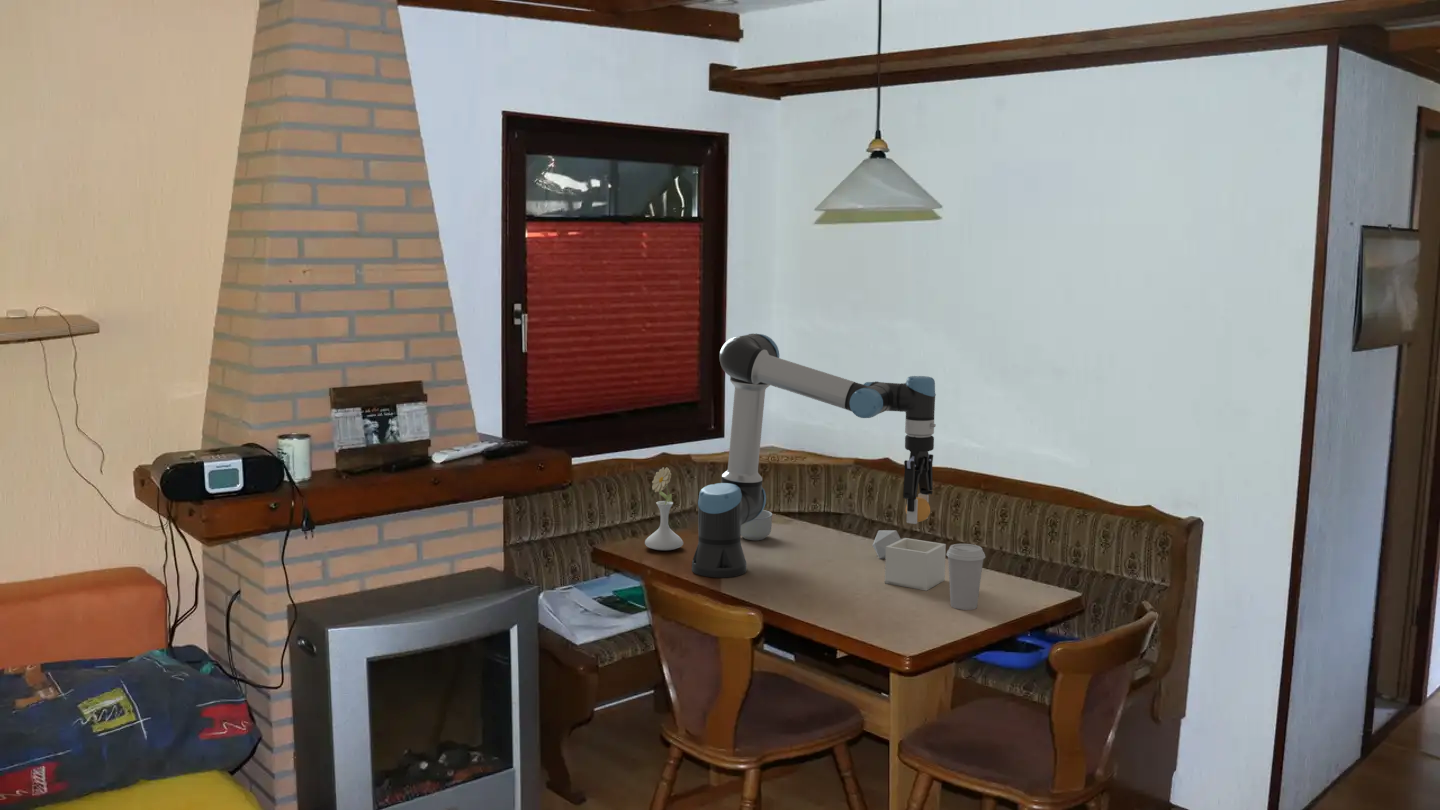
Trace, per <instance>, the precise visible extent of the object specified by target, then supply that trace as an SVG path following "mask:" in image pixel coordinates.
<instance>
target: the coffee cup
mask: <svg viewBox="0 0 1440 810" xmlns="http://www.w3.org/2000/svg"><path fill="white" fill-rule="evenodd" d="M946 556H947V560H948V576H949V577H948V579H949V596H950V597H949V600H950V606H951V608H954V609H956V610H963V611H971V610H975V609H977V608H978V603H979V594H980V587H981V579H982V571H983V564H984V559H985V558H986V554H985V552H984V550H983V547H981V546H980V545H976V544H972V543H955V544H951V545H950V546H949V548H948V549H947V551H946V554H945V557H946Z"/></svg>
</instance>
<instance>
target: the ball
mask: <svg viewBox="0 0 1440 810" xmlns="http://www.w3.org/2000/svg"><path fill="white" fill-rule="evenodd" d="M916 499H918V512H917V523H919V522H924V521H925V520H927V519H926V518H927V517H928V518H929V516H930V514H931V506H930V504H929V502H927V501H926V500H925V499H923V498H920V497H918V496H916ZM905 514H906V515H907V504H905Z"/></svg>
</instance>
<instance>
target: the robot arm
mask: <svg viewBox="0 0 1440 810" xmlns="http://www.w3.org/2000/svg"><path fill="white" fill-rule="evenodd" d="M719 362H720V366H721V369H722V370H723V371H724V373H725V374H726V375H727V376H729V379H730V380H729V381H730V382H731V383H732V385H733V387H734V393H733V394H734V395H733V403H732V404H733V407H732V415H731V417H732V418H731V426H730V427H731V430H730V441H729V450H728V452H729V453H728V463H727V469H726V471H723V473H722V474H721V482H717V483H714V484H713V483H712V484H708V485H705V486H704V487H703V488H701V489H700V491H699V493H698V494H699V495H698V500H697V507H698V512H697V513H698V515H697V517H698V523H697V524H698V530H697V531H698V536H697V537H698V540H697V541H698V542H697V546H696V549H695V551H694V555H693V558H692V561H691V572H692V573H694V574H696V575H698V576H702V577H708V578H731V577H732V578H733V577H737V576H742V575H743V574H746V572H747V571H748V569H747V567H748V566H747V565H748V563H747V560H746V557H745V553H744V550H743V547H742V542H741V525H742V524H744V523H746V522H749V521H752V520H754V519H755V518H756V517H757V516H758V515H759V514H760V513H761V512H762V511H763V510H765V506H766V503H767V495H766V494H767V493H766V491H765V488H763V476H761V474H760V473H759V463H760V452H761V443H762V442H761V440H762V439H761V438H762V431H763V430H762V428H763V420H764V419H763V418H764V407H765V396H766V390H767V389H768V388H769V387H770V386H772V387H775V388H778V389H781V390H785V391H787V392H790V393H794V394H795V395H796V394H797V395H799V396H803V397H805V398H810V399H812V400H816V401H819V402H822V403H825V404H827V405H832V406H833V407H838V408H841V409H844V410H846V411H849V412H852V413H853V415H855V416H856V417H858V418H860V419H870V418H874V417H875V416H877V415H879V414H883V413H884V412H900V413H901V412H905V422H904V423H905V424H904V425H905V427H904V433H905V434H906V435H905V436H904V448H905V450H906V451H909V460H908V459H907V460H906V459H905V460H904V463H903V464H904V465H903V466H904V475H903V476H904V477H903V494H902V496H903V499H904V500H906V505H907V514H906V523H907V524H911V525H913V524H914V525H917V524H918V522H917V512H918V499H916V497H920V498H923V499H925V500H926V501H927V502H928V503H929V501H930V499H929V498H930V497H929V496H930V495H932V494H933V487H934V486H933V485H934V483H933V481H934V480H933V478H934V477H933V463H934V454H932V453H929V452H932V451H933V450H934V448H935V447H934V446H935V437H934V436H933V435H934V433H935V427H936V424H935V411H936V410H935V409H936V408H935V407H936V406H935V405H936V395H937V394H936V383H935V378H933V377H932V376H924V375H910V376H908V377H907V378H906V382H903V383H898V382H897V383H896V382H884V381H883V382H881V381H865V382H864V383H863V384H862V383H858V382H857V381H853V380H849V379H847V378H844V377H841V376H838V375H834V374H831V373H828V372H824V371H821V370H818V369H815V368H812V367H808V366H805V365H803V364H799V363H796V362H793V361H791V360H790V361H789V360H786V359H783V358H780V349H779V346H778V345H777V343H776V342H775V341H774V340H773V339H772V338H771V337H769V336H767V335H766V334H762V333H748V334H743V335H738V336H734V337H731V338H729V339H728V340H727V341H726V342H724V343H723V345H722V346H721V349H720V351H719ZM918 490H919V493H918ZM927 519H929V516H928V517H927V518H926V519H925V520H927Z"/></svg>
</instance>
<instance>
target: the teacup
mask: <svg viewBox="0 0 1440 810" xmlns="http://www.w3.org/2000/svg"><path fill="white" fill-rule="evenodd" d="M772 520H773V513H772V512H771V511H769V510H765V509H763V511H762V512H761V513H760V514H759V515H758V516H757V517H756V518H755V519H754V520H752V521H749V522H746V523H744V524H742V525H741V536H742V538H743V539H745V540H748V541H762V540H765V539H766V538H767V537H768V536H770V534H771V531H772V528H773V527H772V525H773V524H772V522H773V521H772Z"/></svg>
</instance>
